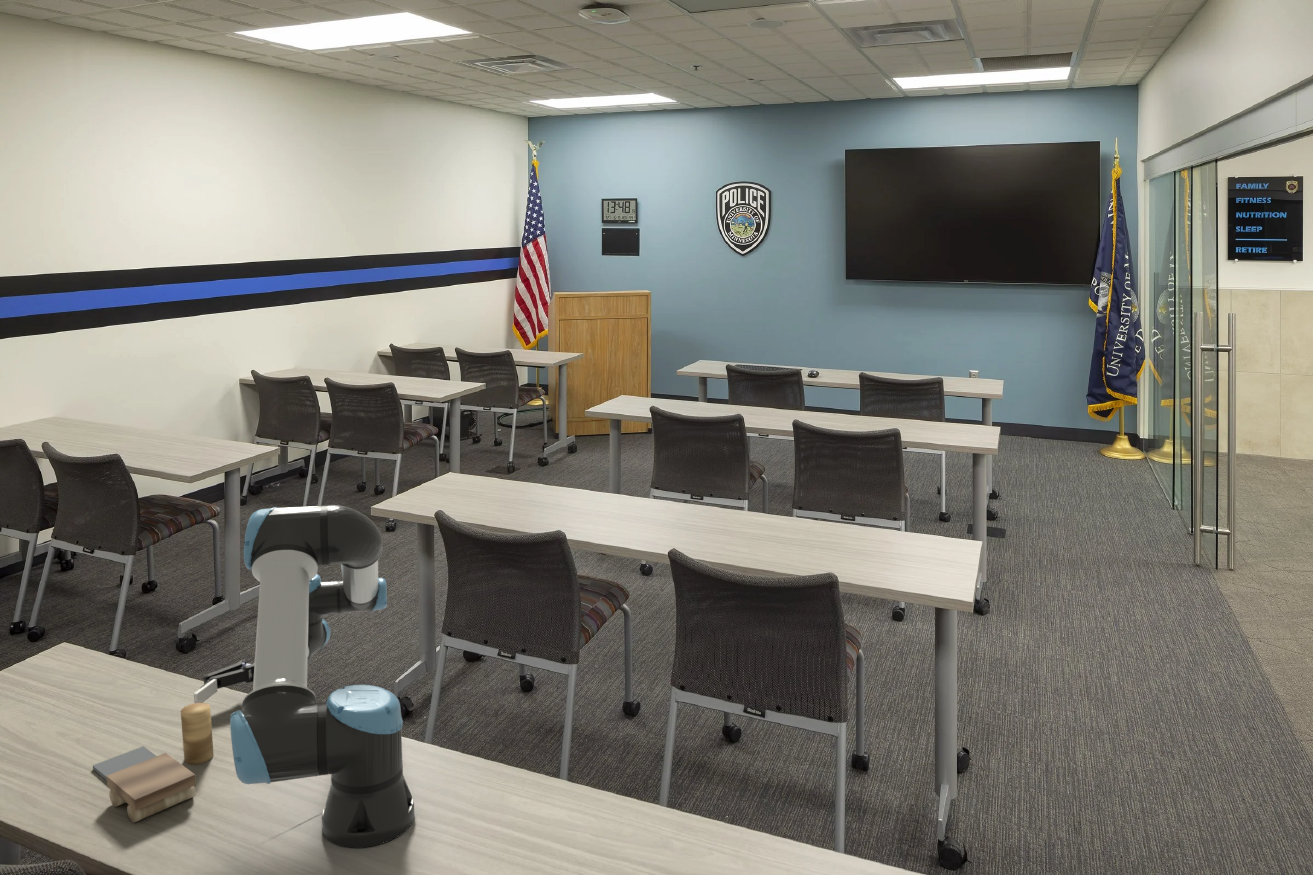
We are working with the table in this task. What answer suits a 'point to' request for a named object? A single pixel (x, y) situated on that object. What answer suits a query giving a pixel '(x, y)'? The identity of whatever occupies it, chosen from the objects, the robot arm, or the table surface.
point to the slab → (151, 786)
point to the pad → (122, 761)
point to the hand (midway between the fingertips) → (227, 703)
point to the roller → (197, 733)
